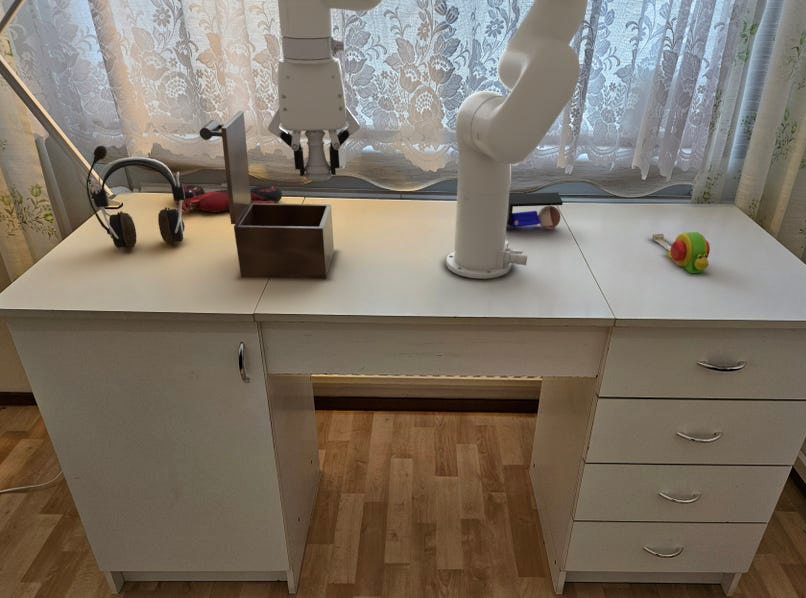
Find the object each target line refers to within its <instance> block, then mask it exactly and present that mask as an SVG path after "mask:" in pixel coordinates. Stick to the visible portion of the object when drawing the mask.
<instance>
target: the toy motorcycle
mask: <svg viewBox="0 0 806 598" xmlns="http://www.w3.org/2000/svg"><path fill="white" fill-rule="evenodd" d="M183 188H184V193H185V200H182V211H183V212H186V213H188V212H189V211H188V209H189V210H196V209H201V210H203V211H206V212H209V213H220V212H224V211H230V209H229V199H228V190H227V189H219V190H215V191H209V192H205V190H204V188H203V186H200V185H197V184H184V185H183ZM250 193H251V202H250V203H279V202H280V201H281V200H282V198H283V193H282V191H281V189H280V188H279V187H277V186H274V185H272V184H261V185H256V186H253V187H252V188H250ZM175 202H176V203H175V204H176V205H177V207H178V208H179V201H175Z"/></svg>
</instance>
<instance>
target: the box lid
mask: <svg viewBox="0 0 806 598" xmlns="http://www.w3.org/2000/svg"><path fill="white" fill-rule="evenodd" d="M244 112H245V111H244V110H239V111H238V112H237V113H236V114H234V115H233V116H232V117H231V118H230V119H229V120H228V121H226V123H225V124H222V123H220V122H219V120H217V119H211V120H210V121H209V122H207V124H205V125H204V126H203V127H202V128H201V129H200V130H199V137H200V138H201V139H202V140H205V141H209V140H211V139H212V138H213V137H218V138H221V140H222V149H223V160H224V170H225V179H226V190H228V199H229V209H230V210H229V218H230V224H231V225H235V224H236V223H237V221H238V220H239V218H240V217H241V215H242V214H243V212H244V211H245V209H246V208H247V206H248V205H249V203H250V202H251V193H250V190H251V183H250V172H249V171H250V170H249V159H248V148H247V136H246V124H245V113H244Z"/></svg>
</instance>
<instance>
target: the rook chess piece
mask: <svg viewBox="0 0 806 598" xmlns="http://www.w3.org/2000/svg"><path fill="white" fill-rule="evenodd" d="M304 135H305V137H306V138H307V142H306V145H307V149H308V152H307V153H308V154H307V157H308V158H307V161H306V163H305V164H306V165H304V171H305V175H303V177H304V178H306V180H307V181H311V182H325V181H328V180H329V179H331V178H332V176H333V174H331V167H330V163H329V161H328V160H327V158H326V153H325V148H324V146H325V141H324V137H325V135H326V131H325V130H321V131H304Z"/></svg>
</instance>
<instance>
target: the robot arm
mask: <svg viewBox="0 0 806 598" xmlns="http://www.w3.org/2000/svg"><path fill="white" fill-rule="evenodd" d="M588 1H589V0H534V1H533V3H532V5H531V7H530V8H529V10H528V12H527V14H526V15H525V17H524V18H523V20H522V21H521V23H520V24H519V26H518V28H517V29H516V31H515V32H514V34H513V35H512V37H511V38H510V40H509V41H508V43H507V45H505V48H504V49H503V51H502V53H501V54H500V56H499V59H498V60H497V61H498V62H497V64H496V65H497V66H496V73H497V78H498V80H499V82H500V84H502V86H503V87H504V88H505V89H506V90H508V91H510V92H509V93H508V95H507V96H505V95H502V94H501V93H498V92H495V91H491V90H479V91H476V92H473V93H472V94H469V95H468V96H467V97H466V98H465V99H464V100H463V101H462V103H461V104H460V106H459V108H458V111H457V114H456V119H455V136H456V145H457V146H456V147H457V160H458V161H457V166H458V167H457V168H458V169H457V188H456V189H457V190H456V211H455V236H454V251H452V252H450V253H449V254H448V255H447V256H446V259H445V265H446V267H447V269H448V270H450V271H451V273H454V274H456V275H458V276H461V277H465V278H470V279H478V280H482V279H484V280H486V279H494V278H498V277H501V276H504V275H507V273H509V272H510V271H511V269H512V264H516V265H521V266H527V262H528V254H523V251H524V250H520V249H512V248H511V247H509V241H508V240H506V237H507V229H506V227H508V225H507V215H508V203H509V194H510V193H511V192H510V191H511V185H512V165H514V164H518V163H520V162H523V161H524V160H526V159H527V158H528V157H530V156H531V155H532V154H533V152H535V150H536V149H537V148H538V146H539V145H540V144H541V142H542V141H543V139H544V138H545V137H546V135H547V134H548V133H549V131H550V129H551V128H552V127H553V125H554V124H555V123H556V121H557V120H558V118H559V116H560V115H561V113H562V112H563V110H564V109H565V108H566V106H567V105H568V103H569V102H570V100H571V98H572V97H573V95H574V93H575V91H576V88H577V86H578V82H579V78H580V73H581V72H580V70H581V68H580V67H581V65H580V61H579V60H580V59H579V57H578V54H577V52H576V51H575V49H574V48H573V47H572V46H571V45H570V43H572V41H573V39H574V37H575V35H576V33H577V32H578V30H579V29H580V27H581V25H582V23H583V21H584V18H585V15H586V12H587V7H588ZM383 2H384V0H277V7H278V17H279V18H278V19H279V28H280V39H281V48H282V58H278V63H277V97H278V107H277V109H276V112H275V113H274V115H273V117H272V118H271V119H270V121H269V123H268V126H267V130H268V131H269V133H271V134H273V135H275V136H276V137H278V138H279V139H281V140H282V141H283V142H284V143H286V145H287V146H289V147H290V148H291V150H292V151H293V159H294V168H295V170H299V176H300V177H304V175H305V173H306V172H305V171H304V169H305V162H304V160H305V159H304V148H303V146H302V143H301V135H302V132H306V131H321V130H323V131H328V135H329V140H330V143H329V145H330V146H328V152H329V165H330V167H331V170H330V173H331V174H332V176H336V175H337V173H336V171H337V170H336V169H340V168H341V167H340V154H339V153H340V151H339V150H340V149H341V146H342V145H344V143H345V142H347V140H348V139H349V138H350V136H352V135H353V134H355V133H356V132H357V131H359V130H360V128H361V126H360V122H358V120H357V118H356V117H355V115H353V113H352V112H351V110H350V109H349V108H348V106H347V104H346V92H345V81H344V77H343V70H342V66H341V65H342V64H341V62H340V58H338V57H336V56H335V54H337V53H339V52H344V51H345V47H344V40H339V39H336V38H335V37H334V28H333V27H334V26H333V12H332V11H333V9H334V10H343V11H350V12H357V13H364V12H365V13H366V12H370V11H372V10H374V9H376V8H378V7H379V6H380V5H381V4H382V3H383ZM280 124H281V126H280ZM338 130H340V131H339V132H337V131H338ZM289 131H291V133H292V134H291V133H290V132H289Z"/></svg>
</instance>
